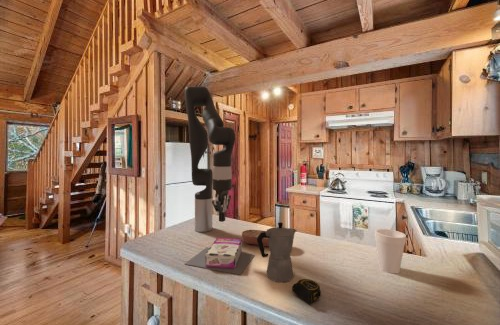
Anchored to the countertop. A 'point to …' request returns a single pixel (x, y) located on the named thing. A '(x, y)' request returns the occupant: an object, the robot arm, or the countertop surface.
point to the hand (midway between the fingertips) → (222, 221)
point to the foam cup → (390, 249)
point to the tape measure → (307, 290)
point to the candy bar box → (224, 253)
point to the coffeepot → (278, 252)
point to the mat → (240, 266)
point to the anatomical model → (254, 237)
